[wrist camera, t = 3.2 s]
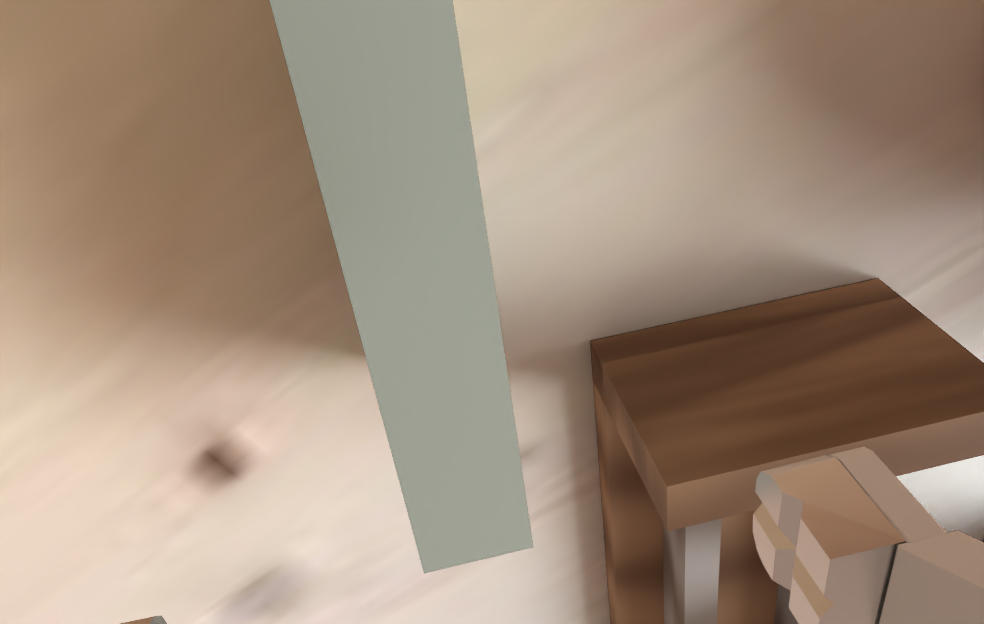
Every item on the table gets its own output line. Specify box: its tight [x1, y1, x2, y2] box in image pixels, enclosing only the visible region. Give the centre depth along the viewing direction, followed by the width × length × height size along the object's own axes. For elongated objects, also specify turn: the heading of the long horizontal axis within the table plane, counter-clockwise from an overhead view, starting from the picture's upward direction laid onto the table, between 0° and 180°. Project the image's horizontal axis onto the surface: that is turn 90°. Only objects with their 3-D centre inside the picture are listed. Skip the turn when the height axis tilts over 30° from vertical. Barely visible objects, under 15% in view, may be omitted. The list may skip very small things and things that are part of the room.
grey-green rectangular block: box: [269, 0, 533, 573], centre depth 21 cm, size 16×3×10 cm, turn 8°
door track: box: [590, 278, 984, 624], centre depth 34 cm, size 26×12×8 cm, turn 8°
